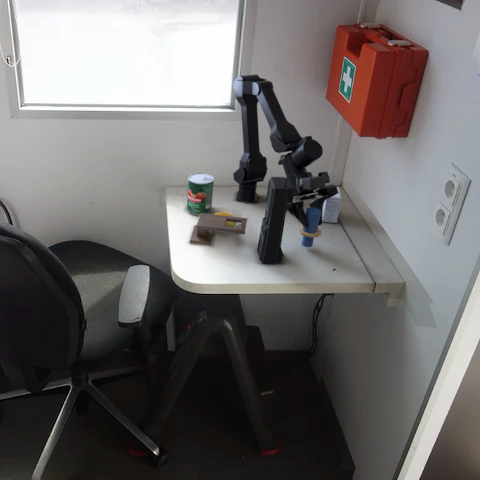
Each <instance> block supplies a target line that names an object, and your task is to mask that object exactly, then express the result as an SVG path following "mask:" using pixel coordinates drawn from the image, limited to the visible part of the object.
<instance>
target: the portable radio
mask: <svg viewBox="0 0 480 480" xmlns="http://www.w3.org/2000/svg"><path fill="white" fill-rule="evenodd" d="M292 196H293V186H292V184H291V181H290V179H289V178H287V177H286V176H270V178H269V180H268V184H267V191H266V199H265V212H264V217H263V218H262V220H261V225H260V232H259V238H258V243H257V247H256V251H257V257H258V260H259V262H260V263H261V264H263V265H279V264H282V262H283V258H284V252H283V249H282V241H283V235H284V229H285V222H286V215H287V203H288V200H289V199H291V198H292Z"/></svg>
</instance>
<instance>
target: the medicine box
mask: <svg viewBox="0 0 480 480" xmlns="http://www.w3.org/2000/svg"><path fill="white" fill-rule="evenodd" d="M336 187H337V189H338V192H339V193H338V194H336V195H334V196H332V197H331V198H329V199H326V200H325V202H324V204H323V212H322V223H330V224H332V223H333V224H337V223H338V220H339V214H340V209H341V203H342V193H341V189H340V187H339V186H336Z"/></svg>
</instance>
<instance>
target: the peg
mask: <svg viewBox="0 0 480 480" xmlns="http://www.w3.org/2000/svg"><path fill="white" fill-rule="evenodd" d="M304 212H305V215H306V218H307V221H308V225H309V228H305V227H304V226H303V225H302V224H300V225H299V226H298V227H297V232H298V233H299V234H300V235H301V236H302V241H301V246H303V247H305V248H312V247H313V245H314V240H315V238H318V237H320V236H321V235H322V233H323V231H322V229H321V228H320V226H319V220H320V215H321V210H320V209H318V208H314V207H309V206H308V207H307V208H305V211H304Z"/></svg>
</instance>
